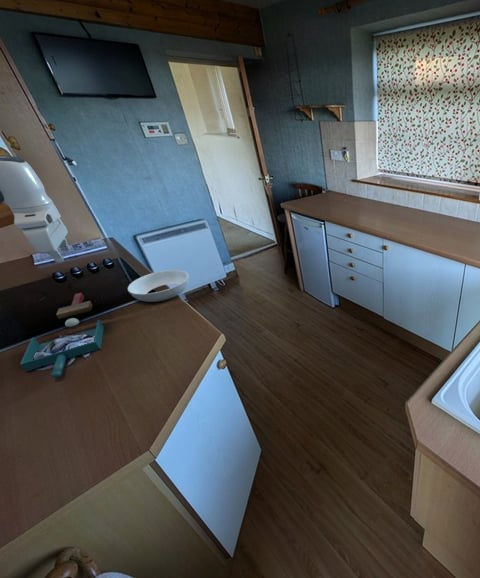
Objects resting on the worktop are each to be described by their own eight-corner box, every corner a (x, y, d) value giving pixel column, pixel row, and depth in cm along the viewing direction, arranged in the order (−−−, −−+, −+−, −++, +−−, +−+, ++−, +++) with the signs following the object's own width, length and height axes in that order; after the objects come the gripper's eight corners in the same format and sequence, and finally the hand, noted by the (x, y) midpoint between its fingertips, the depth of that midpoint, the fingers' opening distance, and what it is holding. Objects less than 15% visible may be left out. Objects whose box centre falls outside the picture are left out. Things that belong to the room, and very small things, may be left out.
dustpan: (38, 345, 97) (31, 337, 95) (104, 327, 106) (99, 319, 104) (17, 395, 80) (9, 386, 78) (97, 368, 89) (91, 360, 87)
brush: (93, 314, 112) (88, 306, 111) (61, 322, 108) (55, 314, 106) (97, 297, 123) (92, 290, 121) (68, 304, 118) (63, 296, 116)
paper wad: (67, 331, 103) (61, 323, 102) (69, 326, 106) (63, 318, 104) (81, 327, 105) (75, 319, 103) (82, 322, 108) (77, 315, 106)
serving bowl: (190, 302, 120) (184, 287, 116) (128, 313, 113) (120, 298, 109) (196, 279, 136) (191, 265, 133) (142, 287, 129) (135, 274, 126)
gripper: (32, 207, 93) (57, 247, 101) (11, 225, 79) (42, 270, 86) (59, 204, 97) (81, 243, 104) (44, 221, 82) (71, 265, 89)
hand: (63, 256), depth 95 cm, fingers open, 8 cm apart
